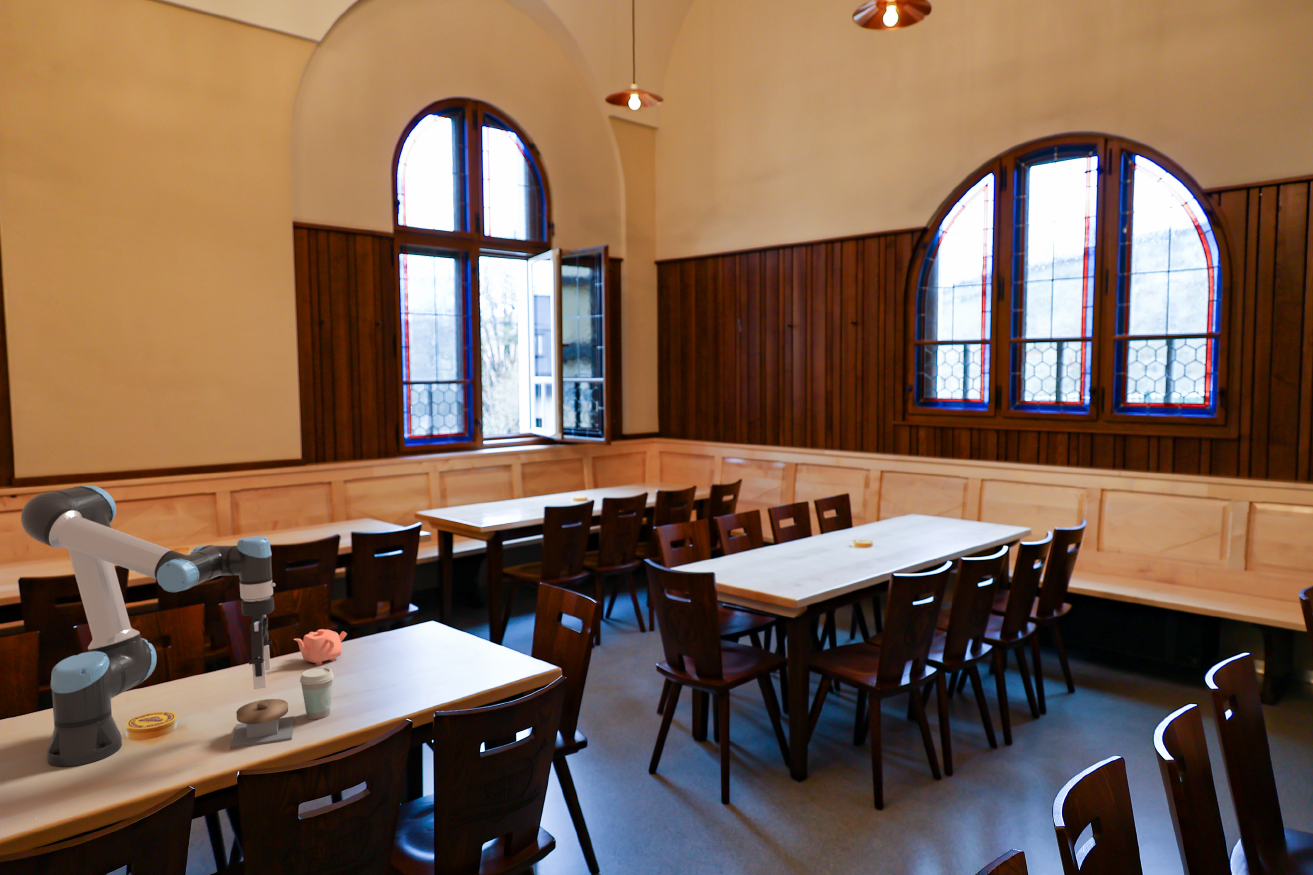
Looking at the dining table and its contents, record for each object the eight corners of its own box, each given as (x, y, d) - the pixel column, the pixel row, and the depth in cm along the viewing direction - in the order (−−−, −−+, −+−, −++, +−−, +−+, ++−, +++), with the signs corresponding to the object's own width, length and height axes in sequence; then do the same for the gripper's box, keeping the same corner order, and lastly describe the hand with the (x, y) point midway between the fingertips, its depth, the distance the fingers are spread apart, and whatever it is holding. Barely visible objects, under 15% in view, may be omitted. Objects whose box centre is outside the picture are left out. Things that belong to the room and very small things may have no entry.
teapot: (313, 653, 277) (312, 623, 276) (349, 652, 276) (347, 622, 276) (294, 668, 262) (292, 637, 261) (331, 668, 262) (330, 636, 261)
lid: (234, 726, 207) (233, 716, 207) (239, 708, 218) (238, 698, 218) (286, 719, 211) (286, 708, 211) (289, 702, 223) (289, 691, 222)
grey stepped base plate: (230, 748, 206) (229, 729, 206) (236, 726, 219) (235, 707, 219) (291, 739, 211) (290, 720, 211) (294, 718, 224) (293, 700, 224)
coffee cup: (323, 722, 221) (321, 678, 220) (294, 720, 223) (292, 676, 222) (341, 709, 230) (340, 667, 229) (313, 707, 231) (312, 665, 230)
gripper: (269, 608, 202) (274, 693, 204) (276, 584, 225) (281, 661, 227) (235, 612, 199) (240, 698, 201) (246, 587, 223) (251, 665, 224)
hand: (262, 678), depth 214 cm, fingers open, 13 cm apart
